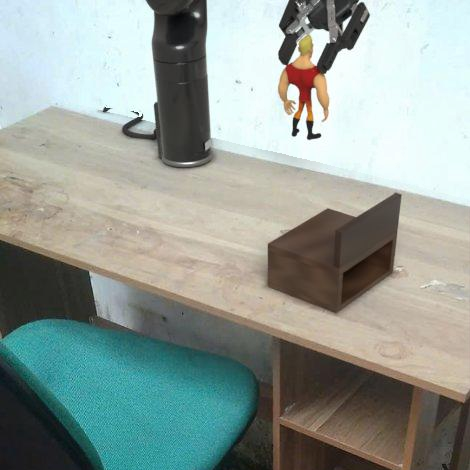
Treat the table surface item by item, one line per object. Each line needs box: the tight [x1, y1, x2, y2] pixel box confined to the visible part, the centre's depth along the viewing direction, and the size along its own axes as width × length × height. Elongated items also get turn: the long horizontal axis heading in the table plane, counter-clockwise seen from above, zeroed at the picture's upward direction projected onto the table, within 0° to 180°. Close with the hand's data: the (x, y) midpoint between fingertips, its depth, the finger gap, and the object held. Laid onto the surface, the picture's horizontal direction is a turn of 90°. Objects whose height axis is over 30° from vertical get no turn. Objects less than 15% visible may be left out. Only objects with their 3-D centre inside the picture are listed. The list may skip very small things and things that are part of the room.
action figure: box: [277, 34, 330, 141], centre depth 127 cm, size 10×4×15 cm, turn 54°
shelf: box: [267, 192, 403, 314], centre depth 110 cm, size 12×14×12 cm
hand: (301, 66), depth 124 cm, fingers closed on action figure, 7 cm apart
